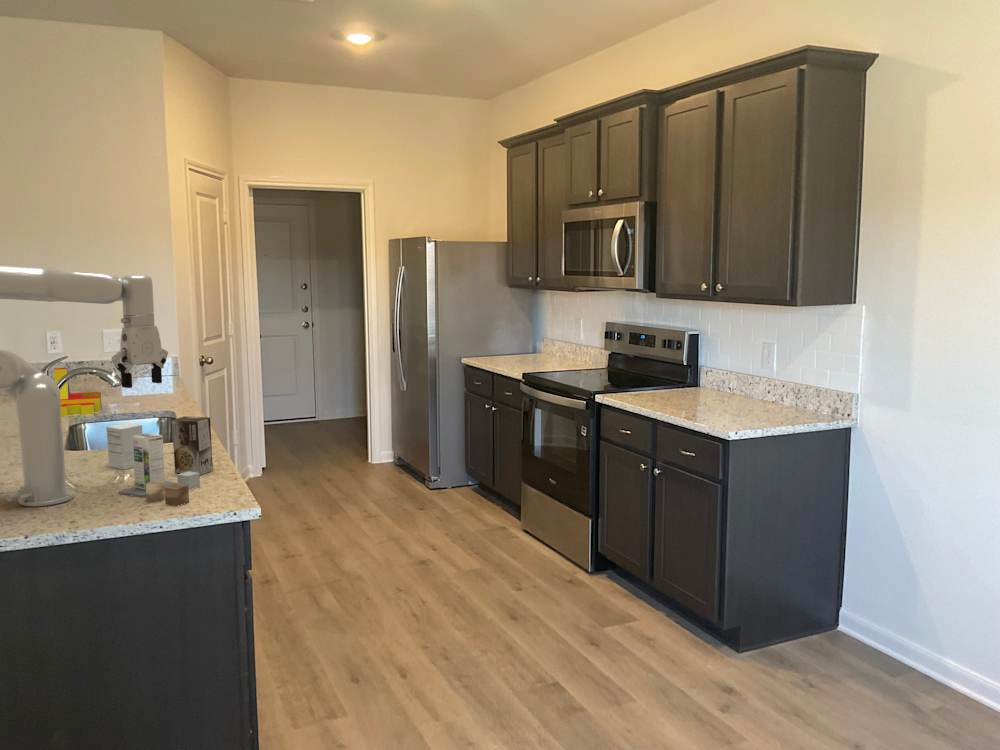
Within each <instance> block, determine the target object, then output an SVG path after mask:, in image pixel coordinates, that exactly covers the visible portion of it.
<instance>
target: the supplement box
mask: <svg viewBox="0 0 1000 750" xmlns="http://www.w3.org/2000/svg"><path fill="white" fill-rule="evenodd" d="M105 427H106V439H107V440H106V441H107V443H106V444H107V455H108V458H107V459H108V466H109V467H110V468H112V467H113V469H117V468H119V469H118V470H122V469H124V470H128V469H134V456H133V436H135V435H139V434H143V425H142V424H139V423H132V422H123V423H118V424H113V425H108V426H105Z"/></svg>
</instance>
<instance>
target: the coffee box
mask: <svg viewBox="0 0 1000 750" xmlns="http://www.w3.org/2000/svg"><path fill="white" fill-rule="evenodd" d="M171 431H172V433H171V434H172V446H173V460H174V474H177V473H184V472H188V471H190V472H197V473H199V475H200V476H202V475H204V474H207V473H209V472H210V473H211V472H212V471H214V465H213V464H214V463H213V449H212V448H213V446H212V427H211V417H206V416H205V417H204V416H181V417H178V418H175V419H172V420H171Z"/></svg>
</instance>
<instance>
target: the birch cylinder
mask: <svg viewBox="0 0 1000 750" xmlns="http://www.w3.org/2000/svg"><path fill="white" fill-rule="evenodd" d="M145 498H146V502H147V501H149V502H148V503H157V502H156V501H160V502H162V500H163V501H165V500H164V499H165V491H164V482H163V481H152V482H148V483H146V497H145Z"/></svg>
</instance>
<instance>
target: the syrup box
mask: <svg viewBox="0 0 1000 750" xmlns="http://www.w3.org/2000/svg"><path fill="white" fill-rule="evenodd" d="M133 456H134V467H133V473H134V474H133V477H134V487H135V488H139V489H143V490H146V483H148V482H152V481H163V482H164V486H165V481H166V480H165V459H164V458H165V457H164V436H163V434H156V433H151V432H150V433H149V432H148V433H147V432H146V433H142V434H139V435H135V436H133Z"/></svg>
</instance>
